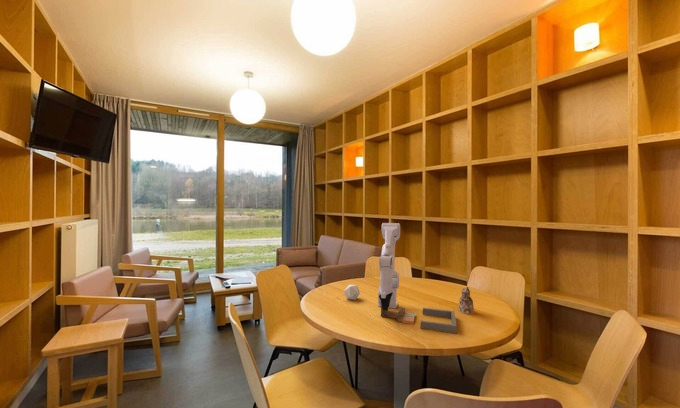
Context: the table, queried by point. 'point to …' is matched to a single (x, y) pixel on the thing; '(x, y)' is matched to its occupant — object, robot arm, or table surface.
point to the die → (352, 292)
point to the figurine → (466, 302)
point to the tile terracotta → (408, 320)
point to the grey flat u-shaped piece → (439, 326)
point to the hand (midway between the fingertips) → (385, 309)
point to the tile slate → (409, 315)
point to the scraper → (393, 314)
